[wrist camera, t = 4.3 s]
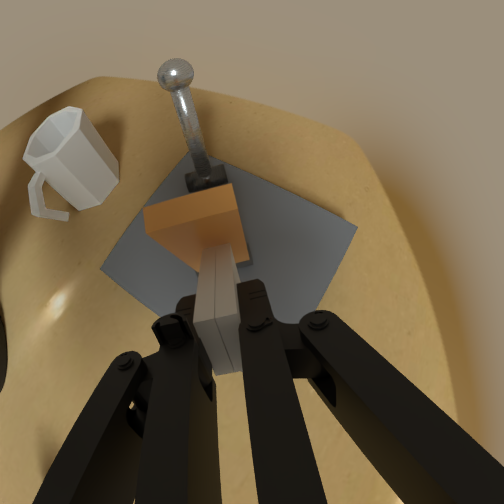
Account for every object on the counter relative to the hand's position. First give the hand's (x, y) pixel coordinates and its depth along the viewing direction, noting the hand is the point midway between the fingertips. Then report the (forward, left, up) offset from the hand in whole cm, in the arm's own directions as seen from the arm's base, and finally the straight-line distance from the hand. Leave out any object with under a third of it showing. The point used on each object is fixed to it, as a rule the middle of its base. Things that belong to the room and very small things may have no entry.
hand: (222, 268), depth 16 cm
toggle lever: (-8, +7, -6) cm, 12 cm away
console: (-3, +3, -10) cm, 11 cm away
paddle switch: (-2, +2, -6) cm, 7 cm away
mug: (-23, +1, -10) cm, 25 cm away
